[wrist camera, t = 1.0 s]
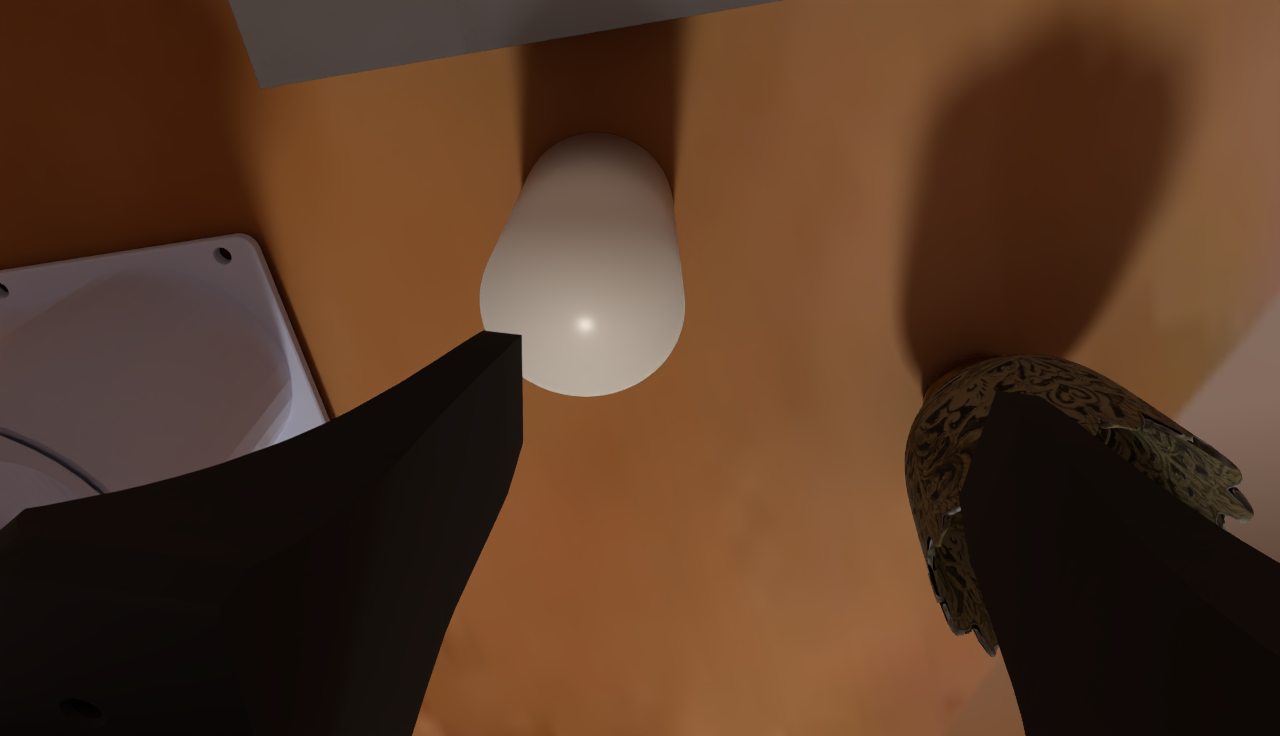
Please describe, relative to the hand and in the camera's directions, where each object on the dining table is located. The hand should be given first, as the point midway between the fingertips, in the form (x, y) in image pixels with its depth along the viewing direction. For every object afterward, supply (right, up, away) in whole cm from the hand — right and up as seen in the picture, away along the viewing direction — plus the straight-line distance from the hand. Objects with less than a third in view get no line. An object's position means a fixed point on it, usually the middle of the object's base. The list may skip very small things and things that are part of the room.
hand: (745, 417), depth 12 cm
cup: (+9, 0, +14) cm, 17 cm away
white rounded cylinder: (-3, +5, +11) cm, 13 cm away
